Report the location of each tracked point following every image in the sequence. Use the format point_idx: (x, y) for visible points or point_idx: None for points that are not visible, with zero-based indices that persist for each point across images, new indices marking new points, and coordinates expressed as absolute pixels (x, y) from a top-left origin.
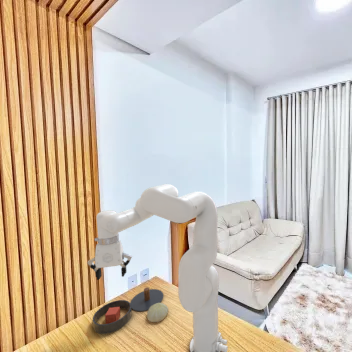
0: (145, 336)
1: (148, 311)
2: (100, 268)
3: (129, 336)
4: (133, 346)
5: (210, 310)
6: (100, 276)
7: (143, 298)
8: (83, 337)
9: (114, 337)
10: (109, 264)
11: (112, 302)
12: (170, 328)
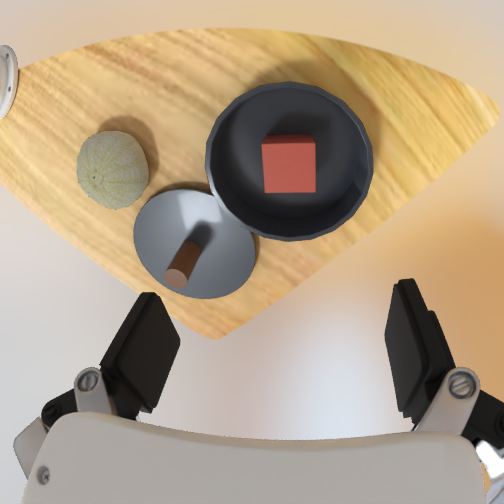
0: (125, 76)
1: (130, 163)
2: (403, 408)
3: (182, 71)
4: (150, 36)
5: None
6: (390, 323)
7: (207, 256)
8: (374, 89)
9: (241, 68)
10: (191, 484)
11: (318, 231)
12: (67, 115)
